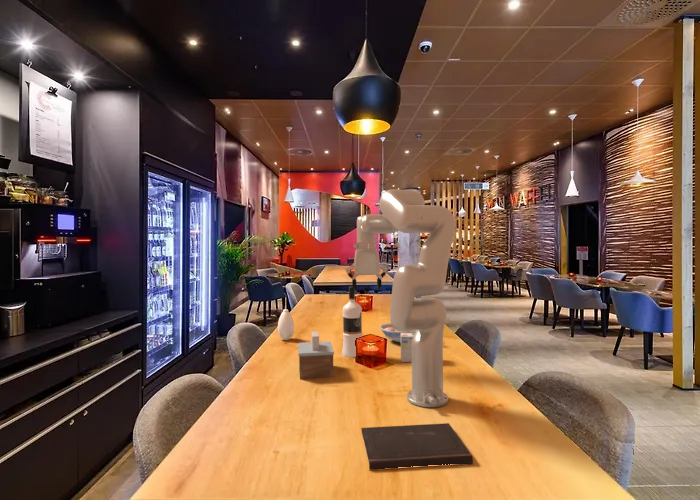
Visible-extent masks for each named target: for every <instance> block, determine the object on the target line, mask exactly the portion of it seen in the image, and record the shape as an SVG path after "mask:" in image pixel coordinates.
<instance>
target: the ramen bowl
mask: <svg viewBox="0 0 700 500" xmlns="http://www.w3.org/2000/svg"><path fill="white" fill-rule="evenodd" d="M379 328H380V330H381V332H382V333H383V334H384V336H385V337H386V338H388V339H390V340H392V341H393V342H396V343H399V344H401V333H415V332H416V330H415V331H406V332H401V331H397V330H396V329H394V327H393V326H392V324H391V322H387V323H385V322H384V323H383V324H380V326H379Z"/></svg>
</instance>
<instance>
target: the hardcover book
mask: <svg viewBox="0 0 700 500" xmlns="http://www.w3.org/2000/svg"><path fill="white" fill-rule="evenodd" d="M360 429H361V436H362V440H364V441H363V444H364V445H363V446H364V449H365V453H367V454H366V458H367V461H368V468H369V469H385V468H398V467H411V466H412V467H413V466H428V465H442V464H443V465H445V464H446V465H448V464H449V465H450V464H468V465H473V464H474V460H473V455H472V454H471V452H470V451H469V449H468V448H467V447H466V444H464V442H463V441H462V440H461V438H460V437H459V435H458V434H457V432H455V431H456V430H454V428H453V427H452V425H451V424H450V423H449V422H447V423H444V422H443V423H431V424H430V423H429V424H428V423H427V424H411V425H410V424H409V425H408V424H407V425H406V424H405V425H391V426H388V425H387V426H373V427H368V426H367V427H360ZM369 469H368V470H369ZM385 470H386V469H385Z"/></svg>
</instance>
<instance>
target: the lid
mask: <svg viewBox="0 0 700 500" xmlns="http://www.w3.org/2000/svg"><path fill="white" fill-rule="evenodd" d="M297 346H298V348H297V350H298V351H297V352H298V353H297V354H298V357H299V356H316V355H333V356H334V355H335V350H334V348H333V345H332V343H331V341H320V335H319V331H318V330H317V331H311V342H298V343H297Z"/></svg>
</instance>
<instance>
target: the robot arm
mask: <svg viewBox="0 0 700 500" xmlns="http://www.w3.org/2000/svg"><path fill="white" fill-rule="evenodd" d="M379 209H380V212H381V214H379V213H378V214H377V213H376V214H373V213H369V214H364V215H361V216H358V217H357V218H356V243H353V248H356V249H355V252H354V261H353V264H352V265H350V266H347V267H345V268H344V270H345V272H346V275H347V276H348V277H349V278H350V279H351V280H352V281H351V284H352V286H351V287H354V290H355V291H356V290H357V278H358V276H372V275H373V276H376V277H377V279H376V288H377V290H380V289H381V287H382V279H383V278H384V277H385V276H386V274H387V272H388V270H389V268H388V267H386V266H385V265H383V264H380V255H379V250H378V249H377V245H376V244H377V243H376V239H377V238H376V236H377V235H378V234H381V235H383V234H385V235H386V234H387V235H390V234H394V233H397V232H401V233H403V234H429V236H428V237H427V238H426V239H425V241H424V242H423V244H422V245H421V248H420V252H419V260H418V262H417V264H405V265H402V266H400V267H399V268H398V269H397V270H396V272H395V273H394V276H393V280H392V281H393V282H392V288H391V289H392V290H391V296H390V297H391V299H390V308H389V309H390V310H389V318H390V319H389V320H390V323H391V324H392V326H393V327H394V329H396V330H397V331H401V332H406V331H415V330H416V332H415V334H414V336H413V339H412V362H411V390H410V391H408V392H407V393H406V399H407V401H408V402H410V403H411V405H416V406H418V407H422V408H423V407H424V408H438V407H442V406H446V405H447V404H448V403H449V395H448V394H447V393H445V392H444V329H445V324H446V319H447V309H446V306H445V304H444V303H443V302H442V300H440V299H438V298H435V297H429V296H436V295H439V294H441V293H442V292H443V291H444V289H445V286H446V282H447V281H446V280H447V273H448V265H449V260H450V259H449V258H450V252H451V249H452V244H453V241H454V239H455V234H456V226H457V225H456V220H455V219H456V218H455V216H454V215H453V212H452V211H451V210H450V209H448V208H446V207H445V206H442V205H433V204H431V205H430V204H425V198H424V196H423V195H422V193H420V192H419V191H416V190H412V189H395V188H393V189H387V190H386V191H384V192H383V193H382V194H381V196H380V199H379ZM381 269H382V270H383V271H382V272H381V273H380V271H381ZM351 270H353V274H352V273H351ZM415 297H416V298H415Z"/></svg>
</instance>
